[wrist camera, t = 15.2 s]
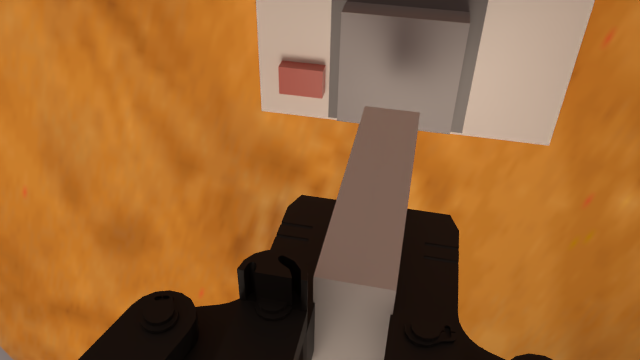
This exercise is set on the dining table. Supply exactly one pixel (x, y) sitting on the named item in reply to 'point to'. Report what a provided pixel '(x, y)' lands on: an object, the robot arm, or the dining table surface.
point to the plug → (405, 58)
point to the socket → (489, 75)
